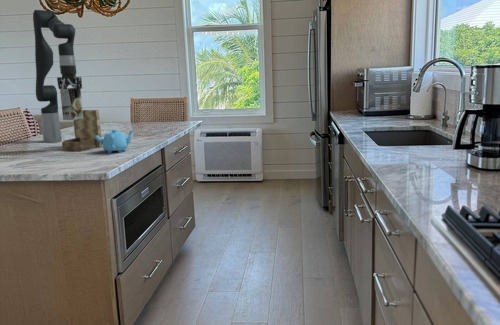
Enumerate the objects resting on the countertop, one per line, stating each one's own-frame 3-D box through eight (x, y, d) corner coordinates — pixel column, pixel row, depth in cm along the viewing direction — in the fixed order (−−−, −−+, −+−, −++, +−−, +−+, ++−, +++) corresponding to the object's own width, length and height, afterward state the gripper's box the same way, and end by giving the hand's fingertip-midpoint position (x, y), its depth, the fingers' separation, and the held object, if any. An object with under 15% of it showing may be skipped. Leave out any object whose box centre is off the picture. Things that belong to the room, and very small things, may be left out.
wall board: (76, 146, 241) (72, 110, 237) (78, 145, 243) (74, 109, 239) (99, 147, 236) (95, 110, 232) (102, 146, 238) (98, 110, 233)
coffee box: (73, 120, 223) (70, 88, 220) (62, 120, 224) (59, 88, 221) (84, 118, 232) (80, 87, 228) (73, 118, 233) (69, 87, 230)
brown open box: (62, 150, 230) (61, 141, 229) (79, 146, 241) (78, 137, 240) (81, 151, 225) (80, 141, 224) (96, 147, 236) (95, 138, 235)
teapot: (122, 148, 232) (120, 126, 230) (136, 150, 223) (134, 128, 221) (95, 152, 221) (93, 130, 219) (109, 155, 212) (107, 132, 210)
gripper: (84, 64, 223) (87, 97, 227) (62, 65, 228) (65, 97, 232) (73, 64, 216) (77, 98, 220) (51, 65, 221) (55, 98, 225)
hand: (71, 97), depth 226 cm, fingers closed on coffee box, 7 cm apart
